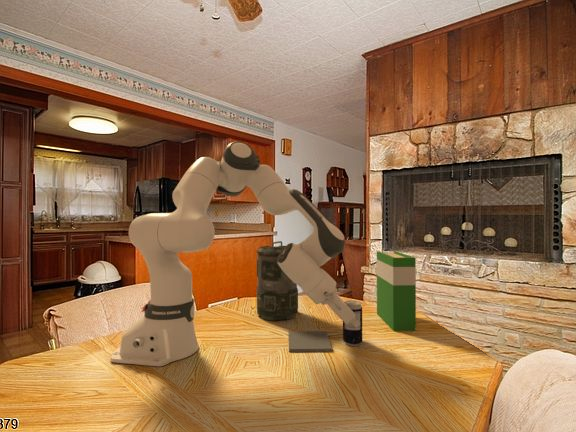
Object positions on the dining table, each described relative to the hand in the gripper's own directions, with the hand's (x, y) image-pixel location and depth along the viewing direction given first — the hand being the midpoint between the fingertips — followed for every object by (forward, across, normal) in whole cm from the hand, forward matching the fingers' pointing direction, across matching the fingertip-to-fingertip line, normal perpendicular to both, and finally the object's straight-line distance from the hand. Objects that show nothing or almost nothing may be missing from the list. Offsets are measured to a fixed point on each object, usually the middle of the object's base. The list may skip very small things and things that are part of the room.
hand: (354, 320), depth 93 cm
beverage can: (+4, 0, +5) cm, 7 cm away
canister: (-10, +28, +20) cm, 36 cm away
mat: (-5, +2, +14) cm, 15 cm away
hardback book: (+19, +17, -9) cm, 27 cm away
